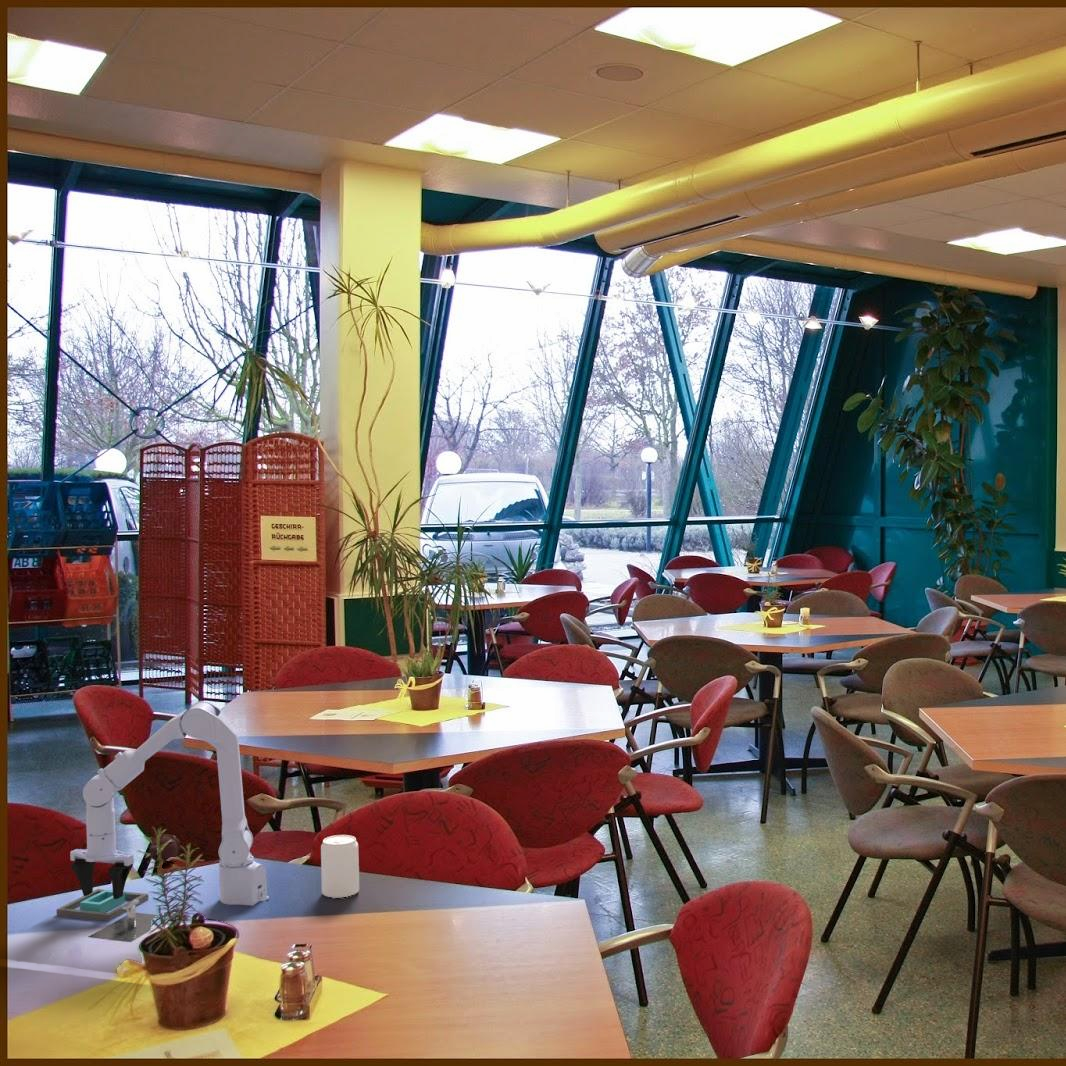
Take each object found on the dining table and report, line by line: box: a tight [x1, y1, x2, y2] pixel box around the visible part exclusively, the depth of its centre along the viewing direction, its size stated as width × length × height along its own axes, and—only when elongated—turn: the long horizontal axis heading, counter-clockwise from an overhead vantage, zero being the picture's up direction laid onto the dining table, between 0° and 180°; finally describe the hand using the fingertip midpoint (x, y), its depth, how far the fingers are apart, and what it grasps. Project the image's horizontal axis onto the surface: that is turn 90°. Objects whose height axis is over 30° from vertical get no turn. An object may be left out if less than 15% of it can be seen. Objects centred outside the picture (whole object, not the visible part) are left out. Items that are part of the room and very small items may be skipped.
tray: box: [55, 888, 149, 922], centre depth 244 cm, size 13×13×2 cm
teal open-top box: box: [79, 889, 126, 913], centre depth 243 cm, size 5×9×3 cm, turn 162°
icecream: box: [149, 833, 181, 869], centre depth 278 cm, size 7×7×15 cm
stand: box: [87, 900, 159, 943], centre depth 232 cm, size 10×14×6 cm
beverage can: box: [320, 834, 360, 899], centre depth 253 cm, size 8×8×12 cm
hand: (103, 896), depth 244 cm, fingers open, 7 cm apart
